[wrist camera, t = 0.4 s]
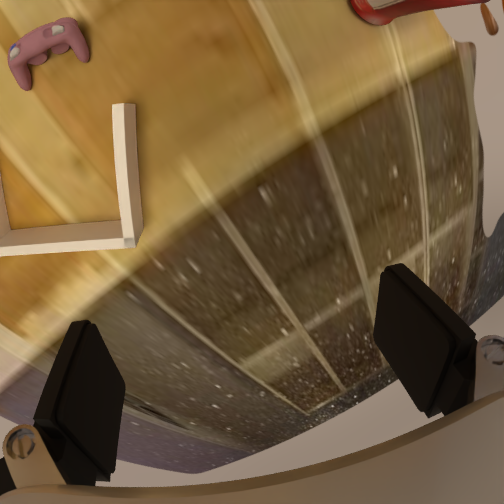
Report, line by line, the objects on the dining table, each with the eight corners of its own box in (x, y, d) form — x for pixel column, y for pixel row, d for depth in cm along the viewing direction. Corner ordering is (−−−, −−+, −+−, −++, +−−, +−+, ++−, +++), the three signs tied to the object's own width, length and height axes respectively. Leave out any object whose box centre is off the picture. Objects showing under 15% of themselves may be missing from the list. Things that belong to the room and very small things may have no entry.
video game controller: (92, 37, 28) (71, 4, 21) (93, 63, 28) (69, 30, 21) (26, 69, 28) (-1, 43, 21) (24, 96, 28) (-6, 72, 21)
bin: (-11, 132, 29) (-36, 139, 24) (135, 103, 32) (123, 103, 27) (6, 238, 35) (-14, 257, 30) (143, 227, 38) (135, 247, 33)
